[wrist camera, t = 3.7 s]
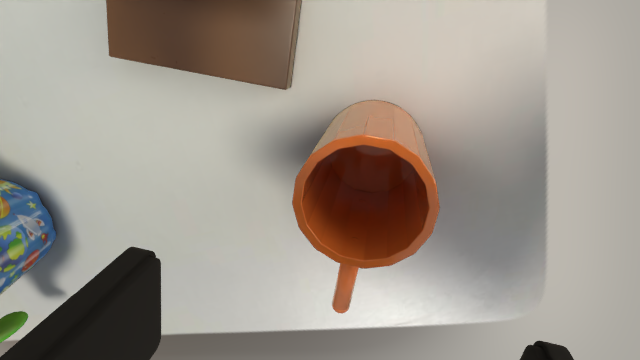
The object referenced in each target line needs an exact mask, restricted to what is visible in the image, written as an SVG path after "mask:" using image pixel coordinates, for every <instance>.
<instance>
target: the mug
mask: <svg viewBox="0 0 640 360" xmlns="http://www.w3.org/2000/svg"><path fill="white" fill-rule="evenodd" d="M292 205H293V208H294V212H295V215H296V219H297V222H298V226H299V228H300V230H301V231H302V232H303V234H304V235H305V236H306V238H307V239H308V240H309V241H310V243H311V244H312V245H313V247H314V248H315V249H317V250H318V251H320V252H321V253H323V254H325V255H326V256H328V257H329V258H331V259H333V260H334V261H336V262H338V263H340V267H339V272H338V277H337V282H336V286H335V291H334V296H333V301H332V307H333V309H334V310H335V311H336V312H337V313H345V312H346V311H347V310H348V309H349V307H350V303H351V298H352V294H353V290H354V285H355V281H356V277H357V272H358V268H374V267H383V266H390V265H393V264H395V263H397V262H399V261H401V260H403V259H405V258H407V257H409V256H411V255H413V254H414V253H416V251H417V250H418V249H419V248H420V247H421V246H422V245H423V244H424V242H425V241H426V240H427V239H428V238H429V237H430V236H431V234H432V232H433V229H434V226H435V223H436V219H437V216H438V213H439V208H440V206H439V199H438V193H437V186H436V181H435V177H434V174H433V170H432V167H431V163H430V160H429V157H428V153H427V150H426V146H425V143H424V139H423V136H422V133H421V131H420V130H419V128H418V126H417V124H416V122H415V121H414V120H413V118H412V117H411V116H410V115H409V114H408V113H407V112H405V111H404V110H403V109H401V108H400V107H398V106H396V105H394V104H391V103H388V102H384V101H377V100H369V101H363V102H359V103H356V104H353V105H351V106H349V107H347V108H346V109H344V110H343V111H342V112H340V113H339V114H338V115H337V116H336V117H335V118H334V119H333V121H332V122H331V124H330V126H329V127H328V129H327V130H326V132H325V133H324V135H323V136H322V138H321V139H320V141H319V142H318V144H317V146H316V147H315V149H314V150H313V152H312V153H311V155H310V156H309V158H308V159H307V161H306V163H305V164H304V166H303V167H302V169H301V170H300V172H299V173H298V175H297V177H296V179H295V187H294V194H293V201H292Z"/></svg>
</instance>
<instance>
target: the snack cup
mask: <svg viewBox="0 0 640 360" xmlns="http://www.w3.org/2000/svg"><path fill="white" fill-rule="evenodd" d="M55 238H56V231H55V230H54V228H53V223H52V218H51V216H50V215H49V212H48V211H47V209H46V208H45V207H44V206H43V205H42V203H41V200H40V198H39V196H38V194H37V193H36V192H33V191H29V190H27V189H25V188H24V187H22V186H20V185H18V184H16V183H14V182H11V181H6V180H2V179H0V295H1V294H2V293H3V292H4V291H5V290H6V289H8V288H9V287H10V286H11V285H12V284H13V283H14V282H16V281H17V280H18V279H19V278H20V277H21V276H22V275H23V274H24V273H25V272H27V271H28V270H29V269H31V268H32V267H33V266H34V265H35V264H36V263H37V262H38V261H39V260H40V259H41V258H42V257H44V256H45V255H46V254H47V252H48V251H49V250H50V248H51V246H52V243H53V241H54V240H55ZM27 318H28V314H27V313H25V312H22V311H19V312H13V313H10V314H8V315H6V316H4V317H2V318H1V319H0V343H1V342H2V341H4V340H5V339H7V338H8V337H10V336H11V335H12V334H14V333H15V332H16V331H17V330H19V329H20V328H21V327H22V326H23V325H24V323H25V322H26V320H27Z"/></svg>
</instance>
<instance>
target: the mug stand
mask: <svg viewBox="0 0 640 360" xmlns="http://www.w3.org/2000/svg"><path fill="white" fill-rule="evenodd" d="M106 4H107V23H108V43H109V56H110V57H115V58H120V59H126V60H131V61H136V62H141V63H147V64H152V65H157V66H162V67H168V68H173V69H178V70H184V71H189V72H194V73H199V74H205V75H210V76H215V77H220V78H226V79H231V80H236V81H242V82H247V83H252V84H257V85H263V86H268V87H273V88H278V89H284V90H286V89H288V88H290V87H291V79H292V71H293V63H294V55H295V47H296V39H297V31H298V23H299V15H300V7H301V0H106Z"/></svg>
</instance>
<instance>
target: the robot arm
mask: <svg viewBox="0 0 640 360" xmlns="http://www.w3.org/2000/svg"><path fill="white" fill-rule="evenodd" d="M160 339H161V262H160V259H158V258H156V255H155V253H154V252H153V251H149V250H145V249H140V248H136V247H130V248H128V249H127V250H126V251H124V252H123V253H122V254H121V255H120V256H119V257H117V258H116V259H115V260H114V261H113V262H112V263H110V264H109V265H108V266H107V267H106V268H105V269H103V270H102V271H101V272H100V273H99V274H98V275H96V276H95V277H94V278H93V279H92V280H91V281H89V282H88V283H87V284H86V285H85V286H84V287H82V288H81V289H80V290H79V291H78V292H77V293H75V294H74V295H73V296H71V297H70V298H69V299H68V300H67V301H65V302H64V303H63V304H62V305H61V306H60V307H58V308H57V309H56V310H55V311H54V312H53V313H51V314H50V315H49V316H48V317H47V318H46V319H44V320H43V321H42V322H41V323H40V324H39V325H37V326H36V327H35V328H34V329H33V330H32V331H30V332H29V333H28V334H27V335H26V336H25V337H23V338H22V339H21V340H20V341H19V342H18V343H16V344H15V345H14V346H13V347H12V348H10V349H9V350H8V351H7V352H6V353H5V354H4V355H2V356H1V357H0V360H150V358H151V357H152V355H153V354H154V353H155V351H156V350H157V348H158V345H159V343H160ZM520 360H574V359H573V357H572V356H571V354H570V352H569V351H568V350H567V348H566V347H564V346H560V345H556V344H551V343H548V342H543V341H537V342H535V343H534V345H528V346H527V347H526V349H525V350H524V352H523V355H522V357H521V359H520Z"/></svg>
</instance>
